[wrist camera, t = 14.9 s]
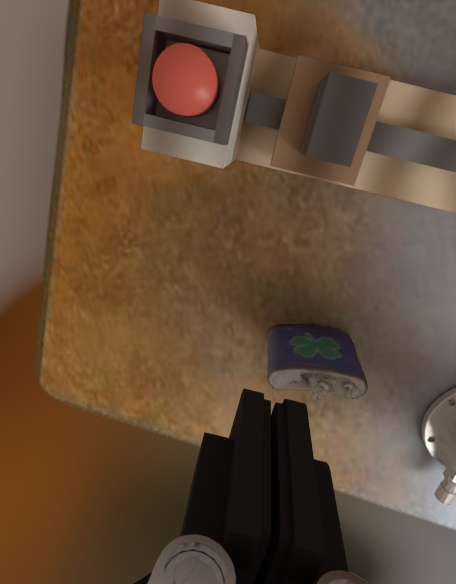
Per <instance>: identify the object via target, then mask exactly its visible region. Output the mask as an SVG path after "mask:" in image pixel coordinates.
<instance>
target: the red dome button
mask: <svg viewBox="0 0 456 584" xmlns="http://www.w3.org/2000/svg"><path fill="white" fill-rule="evenodd" d="M152 82H153V88H154V91H155V94H156V96H157V98H158V100H159V101H160V102H161V104H162V105H163V106H164V107H165V108H166V109H168V110H169V111H171V112H173V113H175V114H179V115H184V116H189V117H198V116H202V115H204V114H206V113H208V112H209V111H210V110H211V109H212V108H213V107H214V106H215V104H216V103H217V101H218V99H219V96H220V91H221V80H220V75H219V72H218V70H217V68H216V67H215V65H214V64H213V62H212V61H211V60H210V59H209V57H208V56H207V55H206V54H205V53H204V52H203V51H202V50H201V49H200V48H198V47H196V46H194V45H192V44H188V43H178V44H174V45H171V46H169V47H168V48H166V49H165V50H164V51H163V52H162V53H161V54H160V55H159V57H158V58H157V60H156V62H155V65H154V68H153V74H152Z"/></svg>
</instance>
